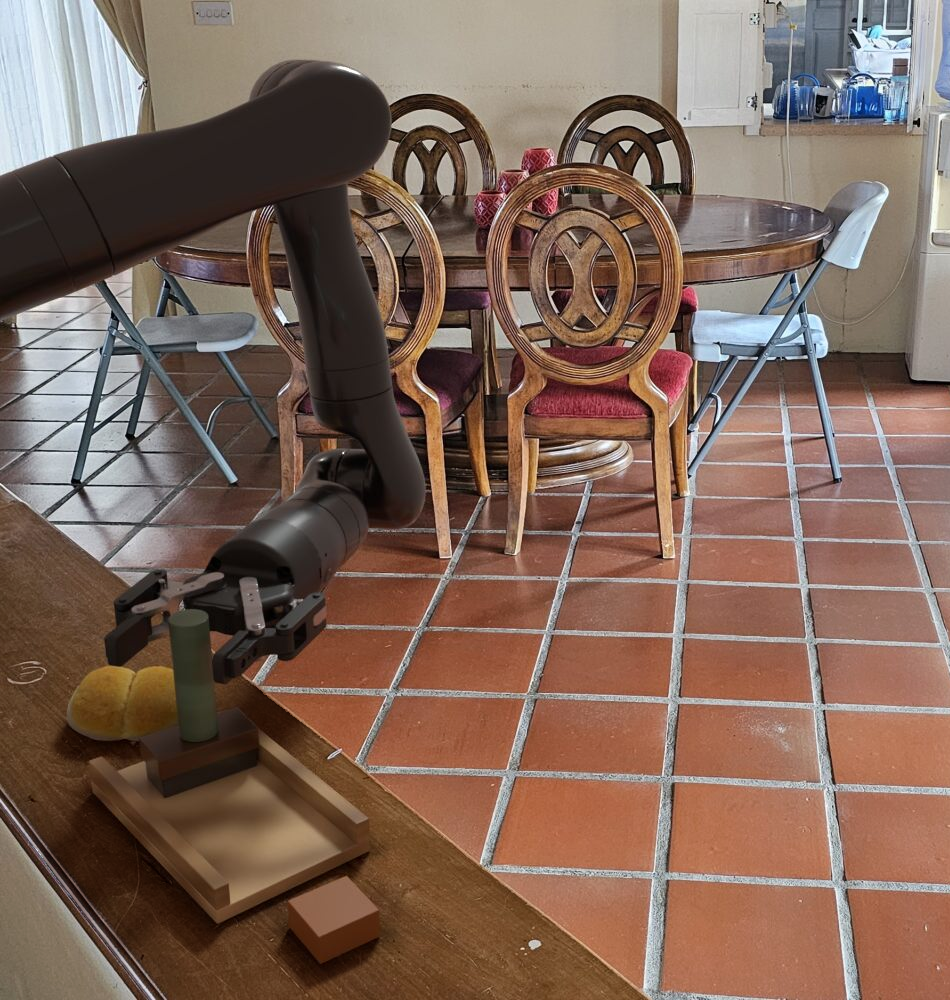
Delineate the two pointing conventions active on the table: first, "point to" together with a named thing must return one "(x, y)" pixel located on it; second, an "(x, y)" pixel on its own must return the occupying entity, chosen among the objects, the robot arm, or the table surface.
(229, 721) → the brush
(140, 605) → the robot arm
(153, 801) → the tray
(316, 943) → the brown block
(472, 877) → the table surface
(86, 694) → the bread roll
